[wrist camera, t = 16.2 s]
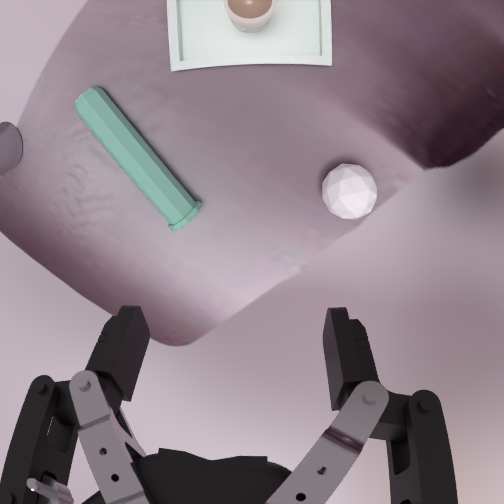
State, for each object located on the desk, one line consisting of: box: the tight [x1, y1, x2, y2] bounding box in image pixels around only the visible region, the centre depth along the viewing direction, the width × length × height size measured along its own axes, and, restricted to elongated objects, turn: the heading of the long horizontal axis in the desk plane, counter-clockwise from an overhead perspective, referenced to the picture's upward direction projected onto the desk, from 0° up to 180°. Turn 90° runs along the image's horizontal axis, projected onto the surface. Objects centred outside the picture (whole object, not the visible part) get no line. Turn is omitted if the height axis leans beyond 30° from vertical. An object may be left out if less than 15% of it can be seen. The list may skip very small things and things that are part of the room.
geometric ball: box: [322, 163, 377, 219], centre depth 40 cm, size 8×8×8 cm
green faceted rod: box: [75, 86, 202, 231], centre depth 39 cm, size 6×6×25 cm
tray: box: [167, 0, 332, 71], centre depth 29 cm, size 20×14×2 cm
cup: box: [223, 0, 276, 33], centre depth 25 cm, size 5×5×10 cm
